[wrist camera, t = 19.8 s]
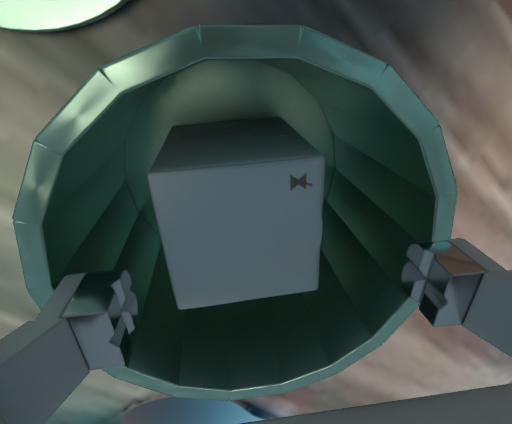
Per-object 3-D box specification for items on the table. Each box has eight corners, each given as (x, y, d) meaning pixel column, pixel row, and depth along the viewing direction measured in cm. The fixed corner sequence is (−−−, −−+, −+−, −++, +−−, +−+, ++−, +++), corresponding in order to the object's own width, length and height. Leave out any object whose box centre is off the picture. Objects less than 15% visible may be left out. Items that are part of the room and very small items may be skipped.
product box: (169, 123, 16) (142, 168, 9) (283, 114, 17) (331, 151, 10) (187, 225, 19) (175, 313, 12) (284, 214, 19) (322, 293, 13)
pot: (276, -21, 14) (373, -132, 6) (373, 199, 20) (488, 299, 12) (55, 134, 16) (-116, 220, 8) (206, 294, 22) (203, 440, 14)
